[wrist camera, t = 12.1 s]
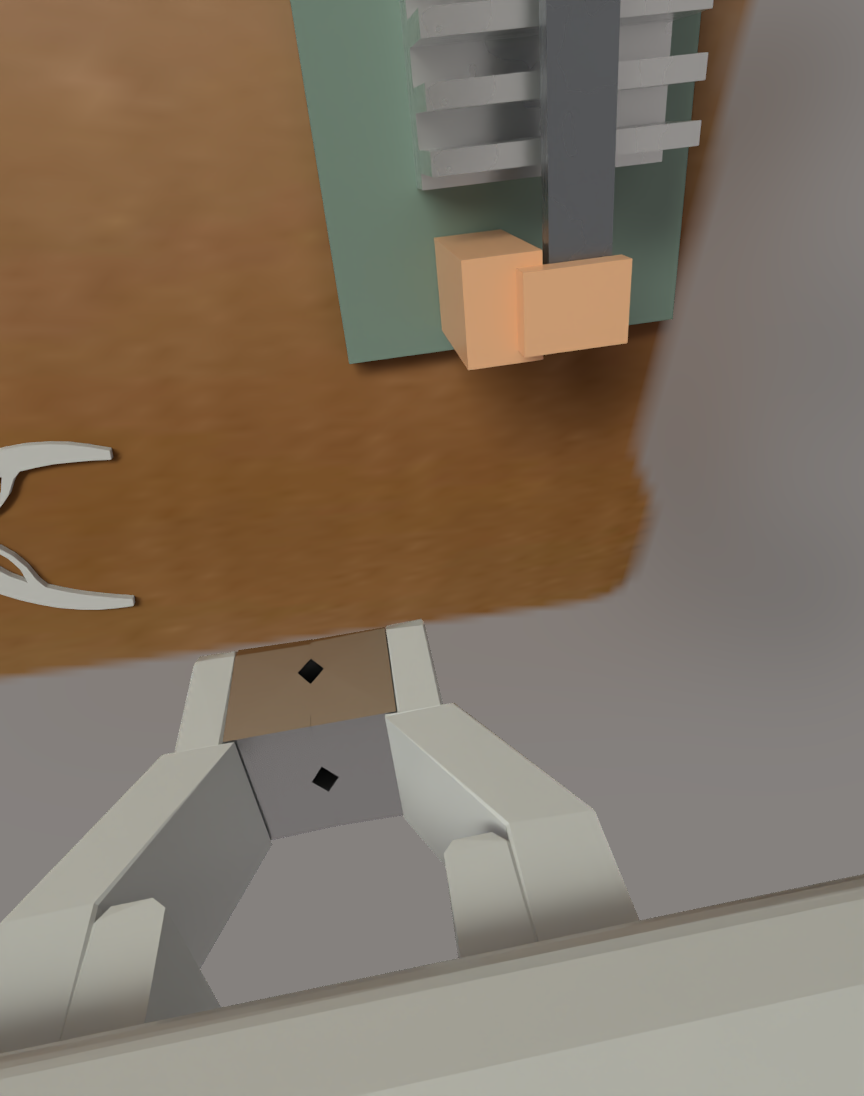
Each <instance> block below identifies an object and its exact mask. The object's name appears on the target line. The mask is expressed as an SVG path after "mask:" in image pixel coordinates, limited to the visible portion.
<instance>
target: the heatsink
mask: <svg viewBox="0 0 864 1096" xmlns="http://www.w3.org/2000/svg"><path fill="white" fill-rule="evenodd" d="M399 6H400V16H401V27H402V37H403V48H404V58H405V69H406V79H407V90H408V100H409V111H410V122H411V132H412V143H413V153H414V164H415V174H416V185H417V188H419V189H421V190H431V189H439V188H447V187H456V186H464V185H472V184H481V183H489V182H497V181H505V180H514V179H522V178H530V177H539V176H541V115H540V49H539V0H399ZM712 8H713V0H621V3H620V33H619V63H618V93H617V123H616V153H615V167H622V166H630V165H638V164H647V163H655V162H662V154H663V150H666V149H675V148H683V147H691V146H699V139H700V129H701V120H691V121H666V122H665V115H666V102H667V89H668V85H674V84H681V83H688V82H695V81H702V80H706V70H707V60H708V52H704V53H695V54H686V55H676V56H670V49H671V36H672V23H673V21H674V20H677V19H681V18H684V17H687V16H690V15H693V14H696V13H699V12H702V11H706V10H709V9H712Z"/></svg>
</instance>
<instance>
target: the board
mask: <svg viewBox="0 0 864 1096" xmlns="http://www.w3.org/2000/svg"><path fill="white" fill-rule="evenodd" d="M290 2H291V8H292V14H293V20H294V26H295V33H296V39H297V45H298V51H299V57H300V63H301V70H302V76H303V82H304V88H305V94H306V100H307V107H308V113H309V119H310V125H311V131H312V137H313V143H314V150H315V156H316V162H317V168H318V174H319V180H320V187H321V193H322V199H323V205H324V211H325V217H326V223H327V230H328V236H329V242H330V248H331V254H332V260H333V267H334V273H335V279H336V285H337V291H338V297H339V303H340V310H341V316H342V322H343V328H344V334H345V340H346V347H347V353H348V359H349V364H353V363H360V362H367V361H375V360H382V359H389V358H396V357H403V356H411V355H418V354H425V353H432V352H439V351H446V350H454V348H453V346H452V345H451V343H450V342H449V340H448V339H447V337H446V336H445V334H444V333H443V331H442V326H441V314H440V303H439V291H438V279H437V268H436V256H435V244H434V238H436V237H444V236H452V235H459V234H467V233H475V232H483V231H491V230H499V229H501V230H503V231H505V232H507V233H509V234H511V235H513V236H515V237H517V238H519V239H521V240H523V241H525V242H527V243H529V244H531V245H533V246H535V247H537V248H539V249H541V250H542V261H543V247H542V181H541V176H539V177H530V178H522V179H514V180H505V181H497V182H489V183H481V184H472V185H464V186H456V187H447V188H439V189H431V190H421V189H419V188H417V185H416V174H415V164H414V153H413V143H412V132H411V122H410V111H409V100H408V90H407V79H406V69H405V58H404V48H403V37H402V27H401V16H400V6H399V0H290ZM700 19H701V12H699V13H696V14H693V15H690V16H687V17H684V18H681V19H677V20H674V21H673V23H672V36H671V49H670V56H676V55H686V54H695V53H697V51H698V41H699V30H700ZM694 84H695V82H688V83H681V84H674V85H668V89H667V102H666V115H665V122H666V121H691V116H692V105H693V94H694ZM688 148H689V147H683V148H675V149H666V150H663V154H662V162H655V163H647V164H638V165H630V166H622V167H615V183H614V213H613V243H612V256H613V255H621V254H622V255H625V256H627V257H630V258H632V275H631V292H630V309H629V325H633V324H640V323H648V322H655V321H662V320H669V319H673V309H674V298H675V287H676V277H677V266H678V255H679V244H680V234H681V223H682V212H683V202H684V191H685V180H686V169H687V159H688Z"/></svg>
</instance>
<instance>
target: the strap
mask: <svg viewBox="0 0 864 1096" xmlns="http://www.w3.org/2000/svg"><path fill="white" fill-rule="evenodd" d="M620 3H621V0H539V49H540V115H541V181H542V247H543V265H544V264H552V263H560V262H567V261H575V260H583V259H590V258H598V257H605V256H612V243H613V213H614V183H615V153H616V123H617V93H618V63H619V33H620Z"/></svg>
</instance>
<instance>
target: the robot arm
mask: <svg viewBox="0 0 864 1096" xmlns="http://www.w3.org/2000/svg"><path fill="white" fill-rule="evenodd" d="M386 633H387V635H386ZM387 640H388V641H387ZM388 646H389V647H388ZM401 815H404V819H405V820H406V821H407V822H408V823H409V824H410V826H411V827H412V828H413V829H414V830H415V831H416V833H417V834H418V835H419V836H420V837H421V839H422V840H423V841H424V842H425V843H426V845H427V846H428V847H429V848H430V849H431V850H432V852H433V853H434V854H435V855H436V856H437V857H438V859H439V860H440V861H441V862H442V863H443V864H444V866H445V867H446V874H447V881H448V888H449V895H450V902H451V910H452V917H453V924H454V932H455V938H456V946H457V953H458V958H457V959H452V960H447V961H443V962H438V963H434V964H428V965H423V966H419V967H414V968H410V969H404V970H399V971H394V972H390V973H385V974H380V975H375V976H370V977H366V978H361V979H356V980H351V981H346V982H342V983H337V984H332V985H327V986H322V987H318V988H313V989H308V990H303V991H299V992H294V993H289V994H284V995H279V996H274V997H269V998H265V999H260V1000H255V1001H250V1002H245V1003H241V1004H236V1005H231V1006H227V1007H221V1006H220V1004H219V1002H218V1001H217V999H216V997H215V995H214V994H213V992H212V990H211V988H210V986H209V985H208V983H207V981H206V979H205V977H204V976H203V974H202V972H201V970H200V968H201V966H202V965H203V963H204V961H205V959H206V958H207V956H208V954H209V952H210V951H211V949H212V947H213V946H214V944H215V942H216V940H217V939H218V937H219V935H220V933H221V932H222V930H223V928H224V926H225V925H226V923H227V921H228V920H229V918H230V916H231V914H232V913H233V911H234V909H235V908H236V906H237V904H238V902H239V900H240V899H241V897H242V895H243V894H244V892H245V890H246V888H247V887H248V885H249V883H250V881H251V880H252V878H253V877H254V875H255V873H256V871H257V870H258V868H259V866H260V864H261V862H262V861H263V859H264V858H265V856H266V854H267V852H268V851H269V849H270V847H271V845H272V843H271V840H275V839H279V838H284V837H289V836H293V835H298V834H302V833H307V832H311V831H316V830H321V829H325V828H330V827H334V826H338V825H339V826H340V825H346V824H352V823H358V822H364V821H370V820H376V819H383V818H389V817H394V816H401ZM0 1096H864V874H862V875H857V876H852V877H847V878H842V879H838V880H833V881H828V882H823V883H818V884H813V885H808V886H804V887H799V888H794V889H789V890H785V891H780V892H775V893H770V894H765V895H760V896H756V897H751V898H746V899H741V900H736V901H731V902H727V903H722V904H717V905H712V906H707V907H703V908H698V909H693V910H688V911H683V912H678V913H674V914H669V915H664V916H659V917H654V918H649V919H645V920H639V918H638V915H637V913H636V910H635V908H634V905H633V903H632V901H631V898H630V896H629V893H628V891H627V888H626V886H625V883H624V881H623V879H622V876H621V874H620V871H619V869H618V866H617V864H616V862H615V859H614V857H613V854H612V852H611V849H610V847H609V845H608V842H607V840H606V837H605V835H604V832H603V830H602V827H601V825H600V822H599V820H598V818H597V815H596V813H595V810H594V809H592V808H591V807H590V806H589V805H587V804H586V803H584V802H583V801H582V800H581V799H579V798H578V797H577V796H575V795H574V794H573V793H571V792H570V791H569V790H568V789H566V788H565V787H564V786H562V785H561V784H560V783H558V782H557V781H556V780H554V779H553V778H552V777H551V776H549V775H548V774H547V773H545V772H544V771H543V770H541V769H540V768H539V767H537V766H536V765H535V764H533V763H532V762H531V761H530V760H528V759H527V758H526V757H524V756H523V755H522V754H520V753H519V752H518V751H517V750H515V749H514V748H512V747H511V746H510V745H509V744H507V743H506V742H505V741H503V740H502V739H501V738H499V737H498V736H497V735H496V734H494V733H493V732H492V731H490V730H489V729H488V728H486V727H485V726H484V725H482V724H481V723H480V722H479V721H477V720H476V719H474V718H473V717H472V716H471V715H469V714H468V713H467V712H465V711H464V710H463V709H461V708H460V707H459V706H458V705H456V704H455V703H450V704H444V705H443V703H442V699H441V694H440V690H439V685H438V682H437V677H436V672H435V668H434V664H433V659H432V654H431V650H430V646H429V641H428V636H427V632H426V627H425V623H424V622H423V621H422V620H421V619H419V620H414V621H409V622H404V623H399V624H393V625H388V626H386V630H385V627H383V628H377V629H372V630H366V631H360V632H354V633H349V634H343V635H337V636H331V637H326V638H320V639H314V640H313V639H312V640H305V641H299V642H292V643H285V644H278V645H271V646H264V647H258V648H251V649H244V650H239V651H238V652H236V651H233V652H227V653H220V654H214V655H207V656H202V657H199V659H198V660H197V661H196V663H195V664H194V667H193V672H192V676H191V681H190V685H189V690H188V694H187V699H186V703H185V708H184V712H183V716H182V721H181V726H180V730H179V734H178V739H177V743H176V748H175V752H174V753H169V754H164V755H162V756H161V757H160V758H159V759H158V760H157V761H156V762H155V763H154V764H153V765H152V766H151V767H150V768H149V769H148V770H147V771H146V773H145V774H144V775H143V776H142V777H141V778H140V779H139V780H138V781H137V782H136V783H135V784H134V785H133V786H132V787H131V788H130V789H129V790H128V791H127V792H126V793H125V794H124V795H123V796H122V797H121V798H120V799H119V800H118V801H117V803H116V804H115V805H114V806H113V807H112V808H111V809H110V810H109V811H108V812H107V813H106V814H105V815H104V816H103V817H102V818H101V819H100V820H99V821H98V823H96V824H95V825H94V826H93V827H92V829H91V830H90V831H89V832H88V833H87V834H86V835H85V836H84V837H83V838H82V839H81V840H80V841H79V842H78V843H77V844H76V845H75V846H74V847H73V848H72V849H71V850H70V851H69V852H68V853H67V854H66V855H65V856H64V858H63V859H62V860H61V861H60V862H59V863H58V864H57V865H56V866H55V867H54V868H53V869H52V870H51V871H50V872H49V873H48V874H47V875H46V876H45V877H44V878H43V879H42V880H41V881H40V882H39V884H38V885H37V886H36V887H35V888H34V889H33V890H32V891H31V892H30V893H29V894H28V895H27V896H26V897H25V898H24V899H23V900H22V901H21V902H20V903H19V904H18V905H17V906H16V907H15V908H14V910H12V912H11V913H10V914H9V915H8V916H7V917H6V918H5V919H4V920H3V921H2V922H1V923H0Z"/></svg>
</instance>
